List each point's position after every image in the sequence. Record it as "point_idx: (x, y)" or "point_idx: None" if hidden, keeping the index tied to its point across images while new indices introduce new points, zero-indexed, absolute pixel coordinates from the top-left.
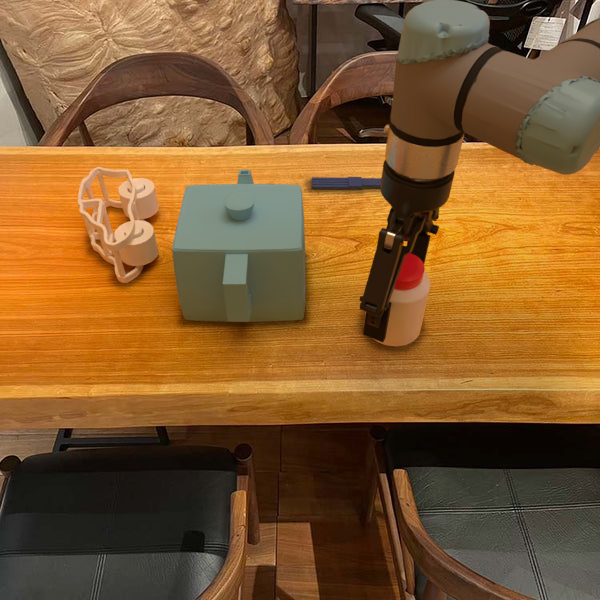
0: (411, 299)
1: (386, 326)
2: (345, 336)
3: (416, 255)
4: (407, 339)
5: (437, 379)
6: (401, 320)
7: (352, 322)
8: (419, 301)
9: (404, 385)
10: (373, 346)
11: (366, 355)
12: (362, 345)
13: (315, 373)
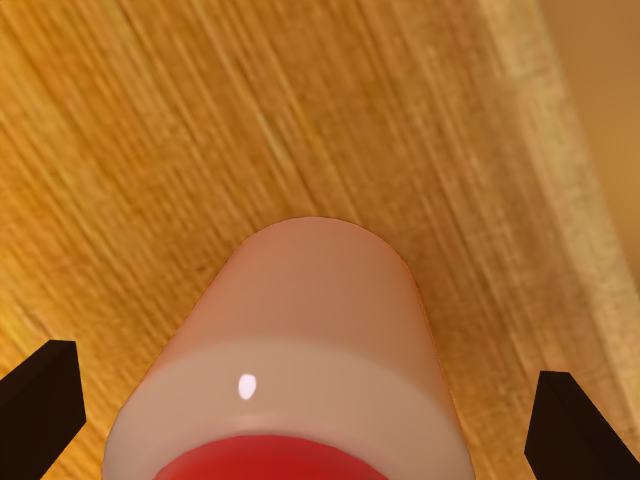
0: (429, 421)
1: (608, 442)
2: None
3: (6, 452)
4: (392, 255)
5: (513, 82)
6: (435, 351)
7: None
8: (390, 359)
9: (583, 192)
10: (441, 342)
11: (490, 351)
12: (451, 375)
13: None
